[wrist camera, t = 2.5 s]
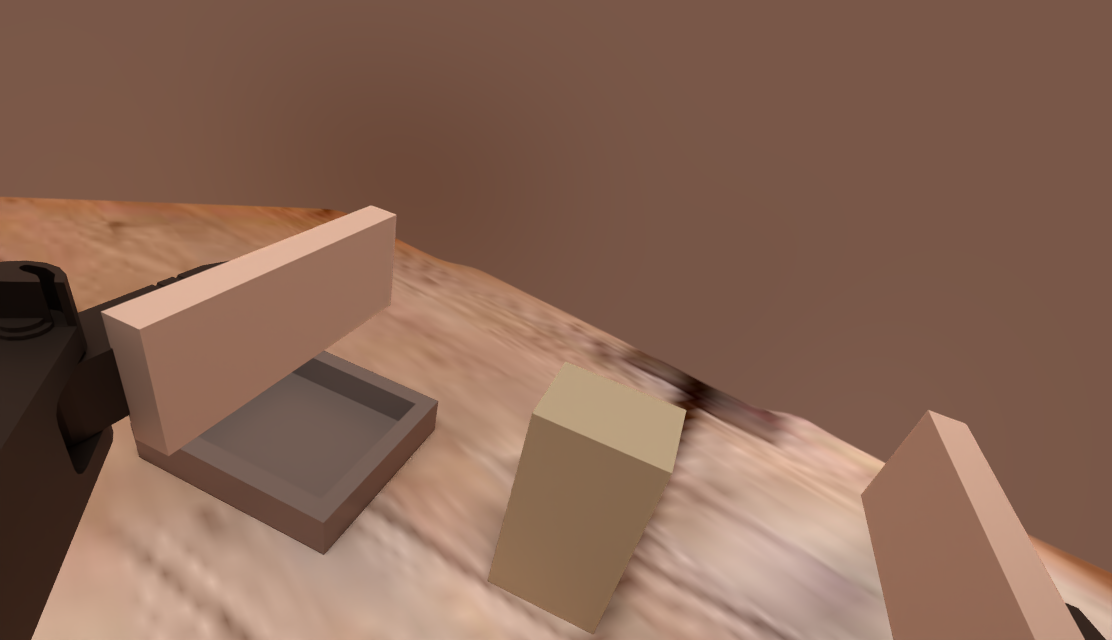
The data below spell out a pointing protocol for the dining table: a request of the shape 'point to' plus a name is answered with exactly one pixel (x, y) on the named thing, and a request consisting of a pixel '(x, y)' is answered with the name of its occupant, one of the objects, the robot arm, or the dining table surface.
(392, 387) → the grey tray
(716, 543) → the dining table surface
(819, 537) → the dining table surface
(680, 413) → the tan rectangular block
